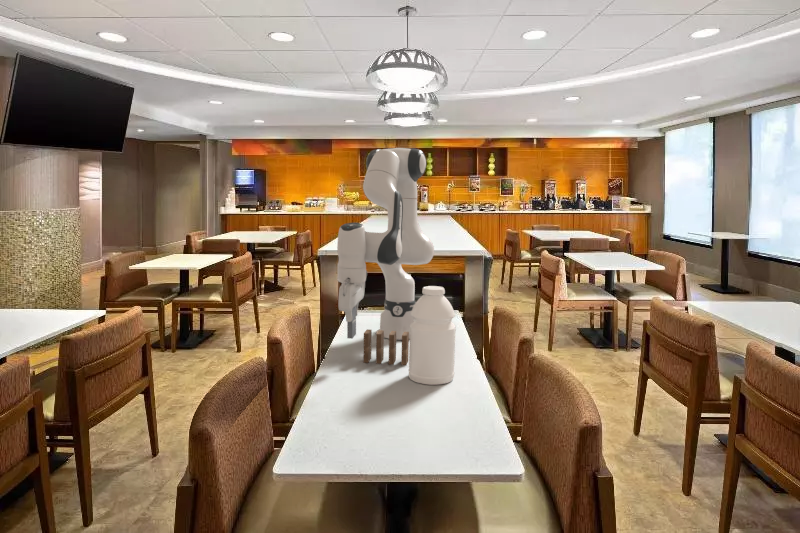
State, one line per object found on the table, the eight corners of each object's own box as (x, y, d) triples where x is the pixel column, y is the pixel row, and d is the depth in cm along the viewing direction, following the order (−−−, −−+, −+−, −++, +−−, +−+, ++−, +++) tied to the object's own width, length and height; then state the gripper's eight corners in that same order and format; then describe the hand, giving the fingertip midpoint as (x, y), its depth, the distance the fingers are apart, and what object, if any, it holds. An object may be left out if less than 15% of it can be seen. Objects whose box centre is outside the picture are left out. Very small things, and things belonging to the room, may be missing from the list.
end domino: (347, 338, 183) (347, 307, 181) (351, 334, 188) (351, 303, 186) (352, 338, 183) (352, 307, 181) (356, 334, 187) (356, 303, 186)
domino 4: (401, 365, 190) (401, 335, 189) (403, 360, 195) (404, 331, 194) (406, 365, 190) (406, 335, 189) (408, 360, 195) (408, 331, 194)
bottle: (413, 386, 171) (415, 292, 167) (404, 371, 184) (405, 284, 180) (459, 384, 173) (463, 291, 169) (447, 369, 187) (449, 283, 183)
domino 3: (388, 364, 191) (389, 334, 190) (391, 359, 196) (391, 330, 195) (393, 364, 191) (394, 334, 189) (395, 360, 196) (396, 331, 194)
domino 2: (375, 363, 192) (376, 333, 190) (378, 359, 197) (379, 330, 195) (380, 363, 191) (381, 334, 190) (383, 359, 196) (383, 330, 195)
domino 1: (363, 362, 192) (363, 333, 191) (366, 358, 197) (366, 329, 196) (368, 363, 192) (368, 333, 191) (371, 358, 197) (371, 329, 196)
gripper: (354, 282, 171) (354, 327, 174) (368, 270, 191) (368, 311, 194) (333, 281, 172) (333, 326, 175) (349, 269, 192) (349, 310, 195)
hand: (351, 318), depth 184 cm, fingers closed on end domino, 5 cm apart
